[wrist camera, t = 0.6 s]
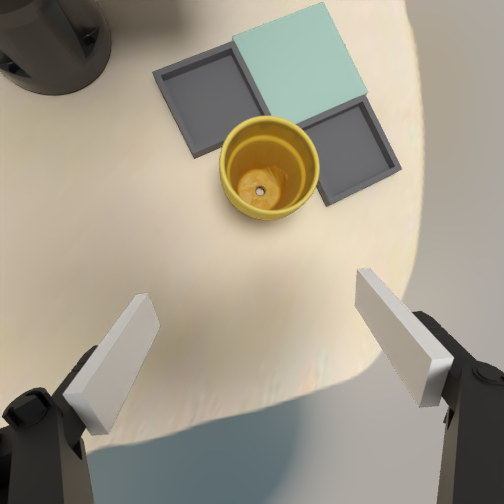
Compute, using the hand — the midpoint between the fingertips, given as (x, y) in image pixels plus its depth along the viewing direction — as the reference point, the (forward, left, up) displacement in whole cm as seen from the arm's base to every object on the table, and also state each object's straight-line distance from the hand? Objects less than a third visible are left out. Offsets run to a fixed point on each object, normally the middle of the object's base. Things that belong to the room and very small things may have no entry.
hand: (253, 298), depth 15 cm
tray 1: (-24, +8, -18) cm, 31 cm away
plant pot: (-10, +8, -18) cm, 22 cm away
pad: (-24, +22, -18) cm, 37 cm away
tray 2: (-10, +22, -18) cm, 30 cm away
